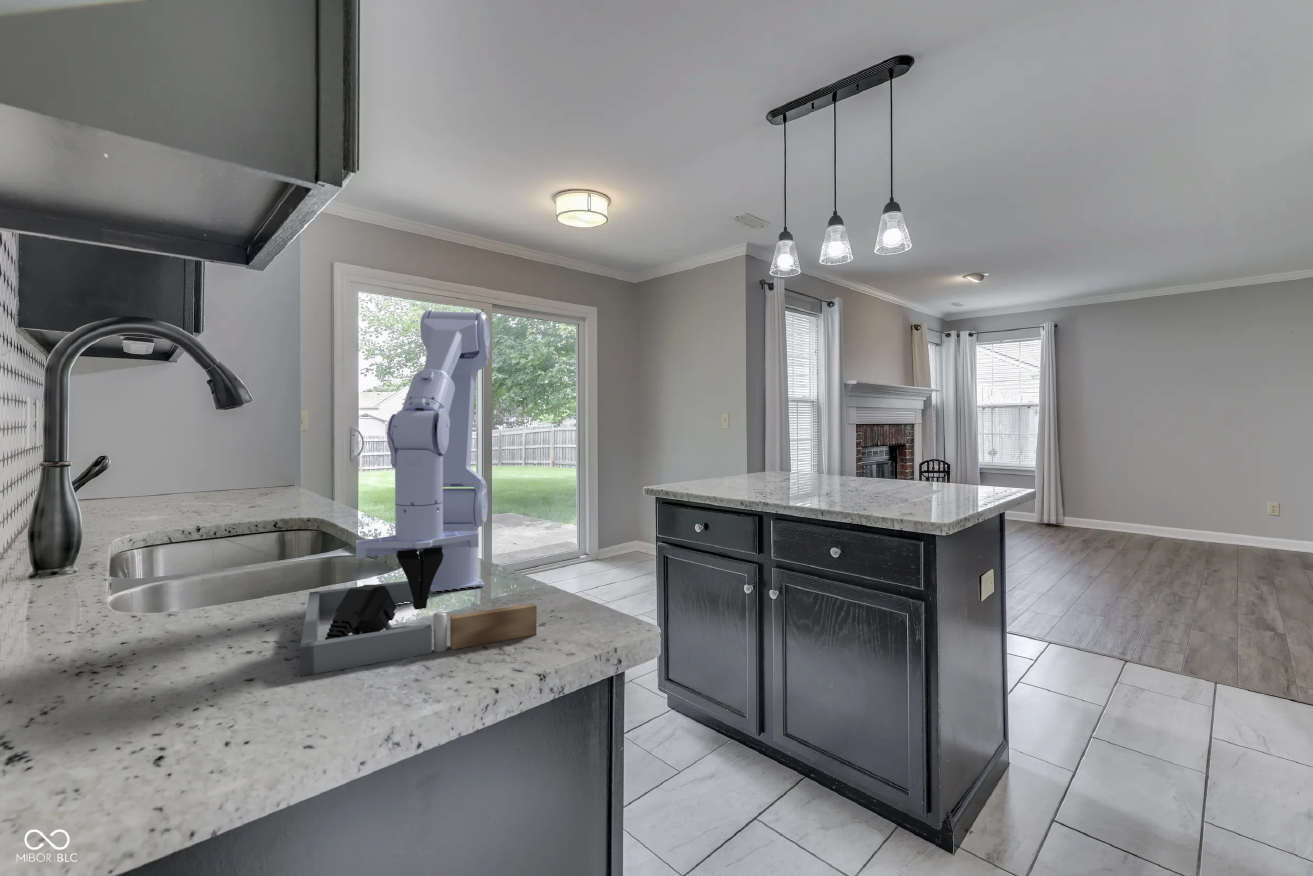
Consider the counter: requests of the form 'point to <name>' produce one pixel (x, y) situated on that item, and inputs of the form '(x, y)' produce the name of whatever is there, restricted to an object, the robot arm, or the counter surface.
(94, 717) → the counter surface
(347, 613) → the power plug
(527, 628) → the gate
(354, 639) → the grey rectangular frame
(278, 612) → the counter surface
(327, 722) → the counter surface
